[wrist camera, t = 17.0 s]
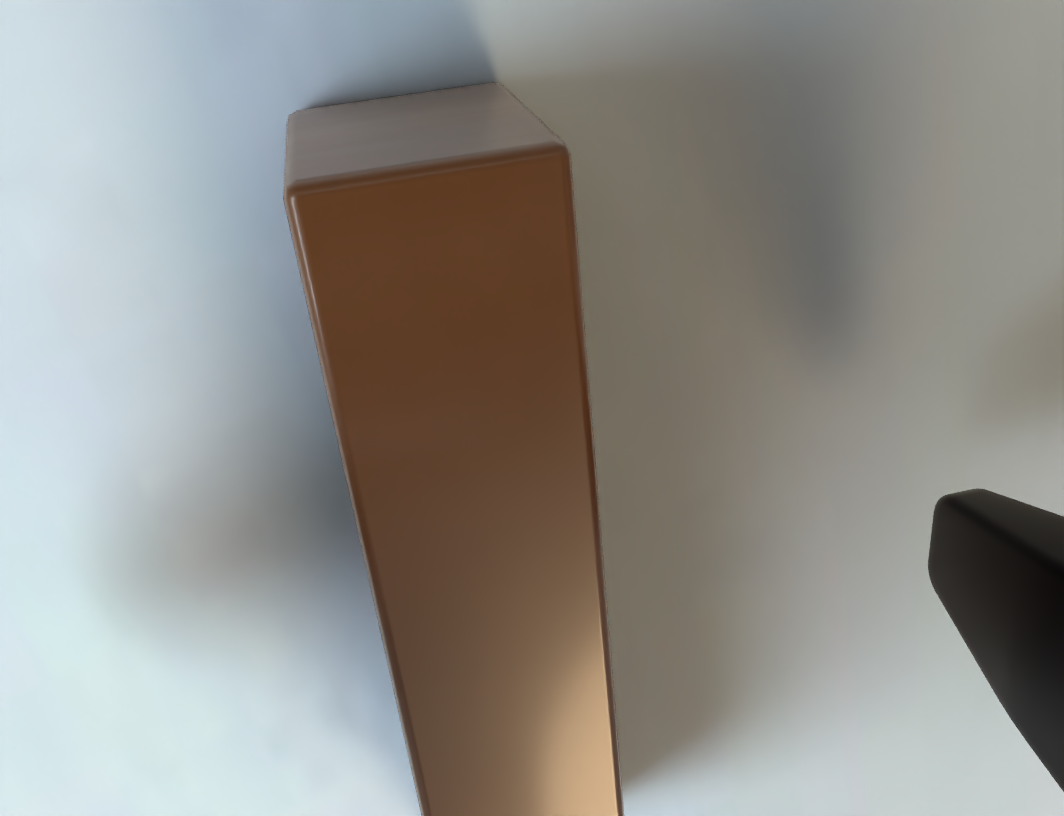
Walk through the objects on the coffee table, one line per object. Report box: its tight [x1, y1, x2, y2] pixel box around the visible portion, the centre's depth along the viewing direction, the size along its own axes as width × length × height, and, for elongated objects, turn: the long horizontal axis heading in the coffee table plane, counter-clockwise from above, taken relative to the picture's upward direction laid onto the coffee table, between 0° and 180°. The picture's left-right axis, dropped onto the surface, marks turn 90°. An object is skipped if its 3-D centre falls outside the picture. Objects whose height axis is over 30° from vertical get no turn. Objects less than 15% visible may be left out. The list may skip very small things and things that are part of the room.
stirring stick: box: [283, 82, 624, 816], centre depth 9 cm, size 9×2×2 cm, turn 6°
